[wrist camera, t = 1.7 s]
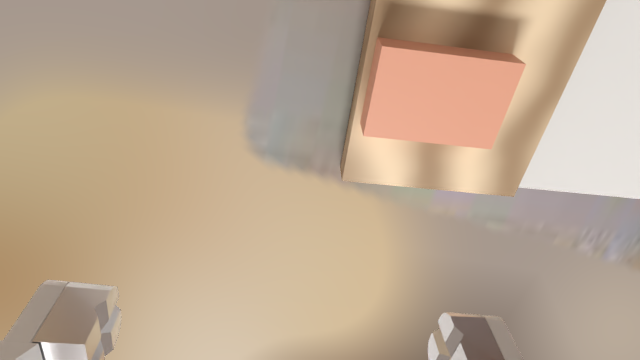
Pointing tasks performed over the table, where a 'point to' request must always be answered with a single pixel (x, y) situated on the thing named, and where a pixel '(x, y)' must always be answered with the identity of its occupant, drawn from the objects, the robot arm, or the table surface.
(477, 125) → the pink rectangular block
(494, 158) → the riser
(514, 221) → the table surface
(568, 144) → the mat
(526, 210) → the table surface
